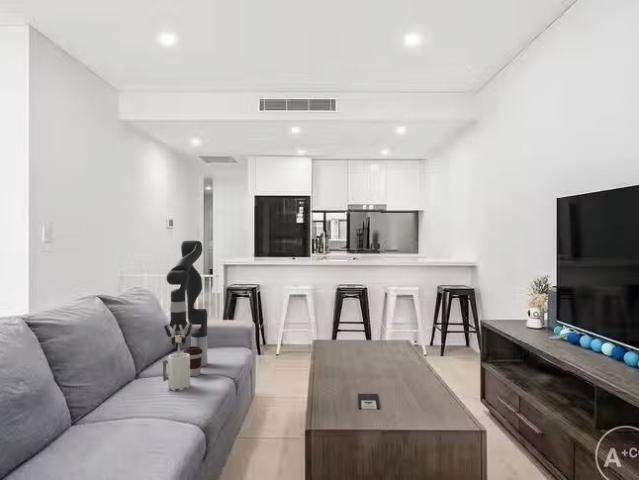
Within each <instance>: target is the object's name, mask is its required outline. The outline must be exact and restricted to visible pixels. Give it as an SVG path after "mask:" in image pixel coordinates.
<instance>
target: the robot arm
mask: <svg viewBox="0 0 639 480" xmlns="http://www.w3.org/2000/svg"><path fill="white" fill-rule="evenodd" d="M180 252H181V258H180V259H179V260H178V261H177V264H176V265H175V266H174V267H172V268H171V269H170V270H169V271H168V273H167V274H166V282H167V283H168V284H169V285H171V286H174V285H175V286H176V285H180V286H179V288H176V289H172V290H171V291H170V307H169V308H170V309H169V312H170V323H168V324H165V325H164V326H163V327H164V330H165V333H166V336H167V337H168V338H169V337H170V338H171V344H172V346H175V345H176V343H175V336H176V333H177V332H180V334H181V335H182V336H183V337H182V343H181V345H182V346H185V344H186V343H187V337H188V336H190V347H191V346H198V347H200V349H202V353H201V356H202V358H201V368H203V367H207V366H208V315H209V314H208V311H207V310H208V309H206V308H195V303H196V301H197V299H198V297H199V296H200V294H201V292H202V290H203V281H202V280H203V278H202V275H201V274H200V273H199V271H198V270H197V269H196V268H195V266H194V265H193V264H194V263H195V262H196V261H197V260H198V259H199V258H200V257H201V256H202V253H203V243H202V242H201V241H200V240H184V241H182V242H181V245H180ZM186 300H187V303H186ZM193 325H195V326H196V325H198V326H199V325H200V327H198V328H196V329H195V330H192V328H193ZM170 328H171V329H172V332H171V330H170ZM185 328H187V331H186V330H185Z"/></svg>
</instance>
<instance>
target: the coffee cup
mask: <svg viewBox="0 0 639 480" xmlns="http://www.w3.org/2000/svg"><path fill="white" fill-rule="evenodd" d="M183 353H187V354H190V376H193V377H198V376H200V375H201V368H202V367H201V358H202V356H201V353H202V349H200V347H198V346H191V345H190V346H188V347H186V349H185V350H184V351H183Z"/></svg>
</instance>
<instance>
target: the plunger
mask: <svg viewBox="0 0 639 480" xmlns="http://www.w3.org/2000/svg"><path fill="white" fill-rule="evenodd" d="M182 337H183V336H182V334H181V335H179V334H178V335H177V334H176V335H175V344H177V353H178V358H180V353H181V344H182Z"/></svg>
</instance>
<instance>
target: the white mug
mask: <svg viewBox="0 0 639 480" xmlns="http://www.w3.org/2000/svg"><path fill="white" fill-rule="evenodd" d="M162 370H163V371H162V373H163V374H162V375H163V376H162V379H163V382H166V381H167V383H168V387H167V389H168V390H169V389H170V390H169V391H171V390H173V391H172V392H179V391H178V390H182V391H185V390H188V389H187V388H189V389H190V387H191V377H190V354H187V353H184V352H180V358H178V352H177V353H172V354H169V355H168V356H167V359H163V360H162ZM167 371H168V372H167ZM184 389H185V390H184Z"/></svg>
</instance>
